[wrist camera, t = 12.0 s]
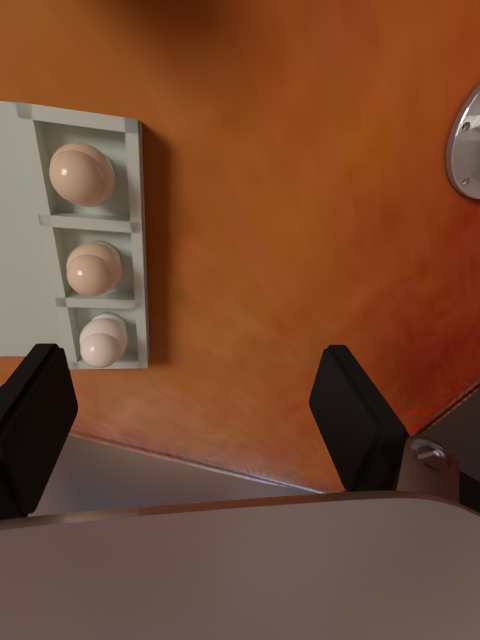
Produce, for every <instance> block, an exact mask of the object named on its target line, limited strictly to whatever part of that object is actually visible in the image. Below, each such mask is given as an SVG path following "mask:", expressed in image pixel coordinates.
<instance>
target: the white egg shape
mask: <svg viewBox="0 0 480 640" xmlns="http://www.w3.org/2000/svg"><path fill="white" fill-rule="evenodd" d="M127 330H128V326H127V323H126V321H125V320H124V319H123V318H122V317H121V316H120V315H118V314H116V313H112V312H102V313H99V314H97V315H96V316H94V317H93V319H92V320H91V322H89V323H88V324H87V325H86V326H85V327H84V328H83V330H82V332H81V334H80V339H79V343H80V347H81V348H80V353H81V356H82V359H83V360H84V361H85V362H86V363H87V364H88V365H90V366H92V367H95V368H105V367H108V366H110V365H112V364H113V363H114V362H116V360H117V359H118V358H119V357H120V356H121V355H122V354H123V353H124V351H125V350H126V348H127V345H128V334H127Z"/></svg>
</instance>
